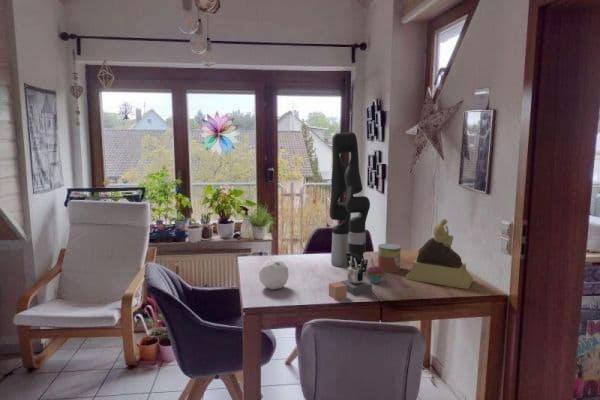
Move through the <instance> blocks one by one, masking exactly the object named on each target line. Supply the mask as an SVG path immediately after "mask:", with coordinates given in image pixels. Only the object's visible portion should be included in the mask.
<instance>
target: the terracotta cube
mask: <svg viewBox="0 0 600 400" xmlns="http://www.w3.org/2000/svg"><path fill="white" fill-rule="evenodd" d="M347 293H348V292H347V285H345V284H343V283H342V282H341V281H337V282H335V281H334V282H330V283H328V296H329V297H330V298H332V299H333V300H335V301H336V300H343V299H347V297H348V295H347Z"/></svg>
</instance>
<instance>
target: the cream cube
mask: <svg viewBox="0 0 600 400" xmlns="http://www.w3.org/2000/svg"><path fill="white" fill-rule="evenodd" d="M360 268H361V267H359V269H360ZM347 280H349V281H351V282H353V283H359V282H365V281H366V272H363V279H362V281H358V271H357V268H356V266H355V267H350V268H349V267H347Z"/></svg>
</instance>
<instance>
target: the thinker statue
mask: <svg viewBox="0 0 600 400" xmlns="http://www.w3.org/2000/svg"><path fill="white" fill-rule="evenodd" d="M447 224H448V220H447V219H446V218H442V219H441V220H440V222H439V223H436V224H435V227H434V228H433V232H432V233H433V234H432V235H433V237H432V238H429V239H428V240H427V241H426V242H425V243H424V244H423V245H422V246H421V247H420V248H419V249H418V251H417V252H418V254H417V257H416V258H417V259H415V260H414V261H413V262H412V267H411V270H410V271H409V272H408V273H407V274H406V275H405V280H410V281H417V282H421V283H422V282H424V283H430V284H435V285H442V286H447V287H452V288H458V289H459V288H460V289H463V290H464V289H466V290H468V289H469V288H470V286H472V284H473V280H474V276H472V275H471V274H470V273H469V272H468V270H467V267H466V266H467V265H466V264H467V263H466V262H462V261H463V260H462V258H461V256H460V255H459V253H457V252H455V251H454V249H453V248H452V245H453V240H454V236H453V235H449V233H450V231H449V227H448V225H447Z"/></svg>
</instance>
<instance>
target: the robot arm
mask: <svg viewBox="0 0 600 400" xmlns="http://www.w3.org/2000/svg"><path fill="white" fill-rule="evenodd" d="M357 138H358V137H357V135H356V133H355V132H354V131H353V132H351V131H348V132H338V133H334V134H333V136H332V140H331V141H332V142H331V143H332V144H331V145H332V146H331V147H332V149H331V150H332V167H331V169H332V170H331V181H330V182H331V186H330V188H331V189H330V190H331V192H330V194H331V195H330V202H329V203H330V204H329V218H330V219H331V220H332V221H343V222H341V223H340V224H336V225H334V226H332V228H331V229H332V230H331V235H332V236H331V246H330V247H331V255H330V256H331V258H330V259H331V260H330V261H331V265H332V266H335V267H348V268H350V267H356V268H357V271H358V281H362V279H363V272H365V273H366V271H367V269H368V263H369V261H368V259H365V258H364V254H365V253H366V239H367V237H366V236H367V235H366V221H367V218H368V214H369V212H370V207H371V201H370V199H369V197H368V196H364V195H363V196H354V195H356V194H359V193H361V192H362V191H363V184H362V178H361V173H360V160H359V148H358V139H357ZM345 153H350V155H351V156H350V160H349V163H348V165H346V164H345V163H344V160H343V159H342V158H341V156H340V155H341V154H345ZM345 193H346V197H345V198H346V199H345V202H339V200H340V199H341V197H343V195H344V194H345ZM353 213H354V214H355V213H357V214H358V215H357V216H355V217H352V218H351V214H353ZM359 267H361V268H360V269H359Z"/></svg>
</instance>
